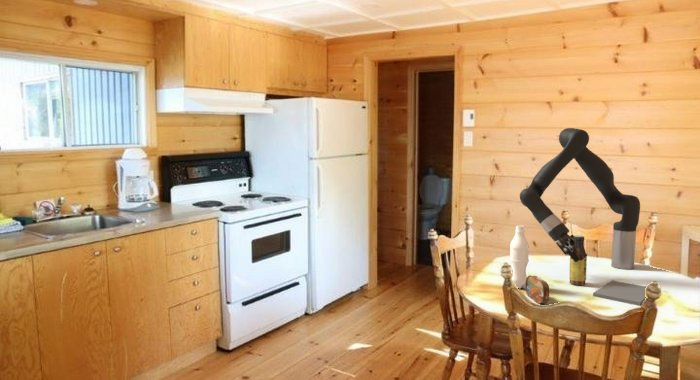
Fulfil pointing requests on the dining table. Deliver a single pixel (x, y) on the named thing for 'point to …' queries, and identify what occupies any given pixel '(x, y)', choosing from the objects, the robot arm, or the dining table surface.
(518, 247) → the water bottle
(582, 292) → the dining table surface
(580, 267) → the sauce bottle
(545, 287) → the tin
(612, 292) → the charcoal board
